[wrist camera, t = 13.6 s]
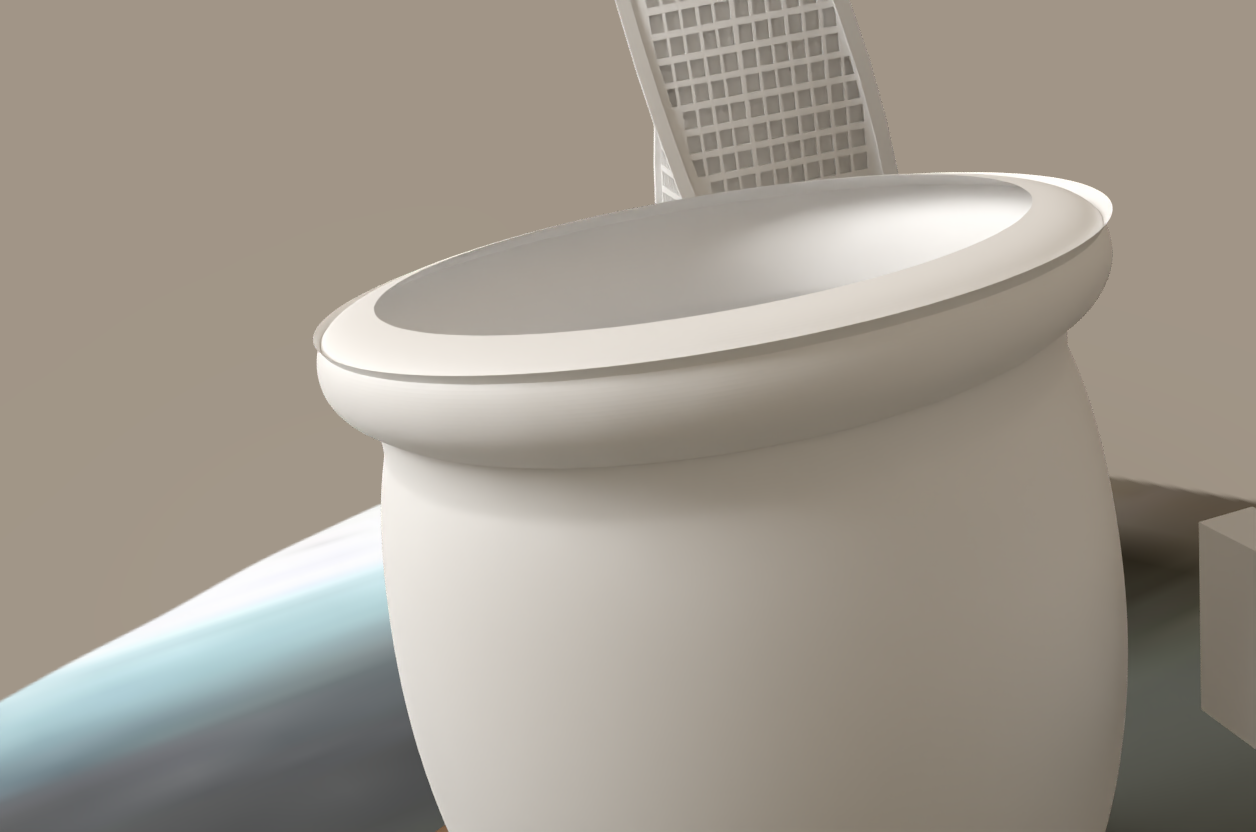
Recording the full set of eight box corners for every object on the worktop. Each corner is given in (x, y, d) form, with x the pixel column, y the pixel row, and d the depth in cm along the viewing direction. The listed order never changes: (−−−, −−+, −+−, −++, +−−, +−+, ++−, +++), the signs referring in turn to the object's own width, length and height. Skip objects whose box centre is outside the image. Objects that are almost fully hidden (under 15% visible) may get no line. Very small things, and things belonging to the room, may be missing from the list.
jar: (900, 790, 26) (828, 155, 21) (1300, 1165, 16) (1334, 175, 12) (472, 980, 23) (275, 282, 18) (667, 1576, 13) (361, 449, 8)
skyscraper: (932, 569, 38) (838, -357, 29) (999, 704, 30) (902, -500, 21) (694, 603, 39) (531, -289, 30) (701, 743, 31) (485, -403, 22)
